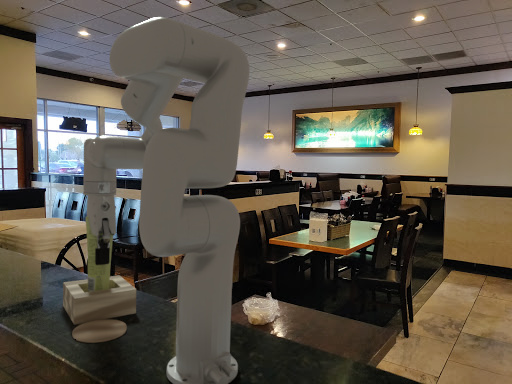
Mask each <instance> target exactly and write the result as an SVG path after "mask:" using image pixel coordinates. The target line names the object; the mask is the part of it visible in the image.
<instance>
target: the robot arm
mask: <svg viewBox="0 0 512 384" xmlns="http://www.w3.org/2000/svg"><path fill="white" fill-rule="evenodd" d="M109 66H110V68H111V71H112V72H113V74H114V75H116V76H117V77H118V78H121V79H125V80H129V82H128V85H127V86H126V88H125V90H124V92H123V93H122V96H121V99H120V105H121V108H122V110H123V111H124V112H125V114H126V115H127V116H129V118H131V119H132V120H133V121H135V122H136V123H138V124H139V125H141V126H143V127H144V128H145V130H144V131H143V132H142V134H141V136H140V137H139V138H137V137H126V136H114V135H113V136H111V135H98V136H95V137H89V138H87V139H85V140H84V143H83V196H87V200H86V217H88V222H89V227H90V231H91V234H93V235H95V236H96V242H97V248H96V249H95V264H96V265H104V264H109V262H110V233H111V235H112V234H113V236H115V235H116V234H117V220H116V219H117V218H116V217H117V216H116V202H115V196H116V195H117V170H141V171H142V172H141V173H142V174H141V184H140V185H141V189H140V203H139V204H140V205H139V219H138V221H139V222H138V226H139V227H138V229H139V236H140V240H141V243H142V245H143V248H144V249H145V250H146V252H147V253H148V254H150V255H152V256H155V257H159V258H160V257H161V258H166V257H172V256H173V257H174V256H180V255H185V256H184V258H183V259H182V262H181V264H180V267H179V271H178V274H177V275H178V276H177V291H176V292H177V297H176V301H177V302H176V334H175V337H176V339H175V356H174V357H172V358H171V359H170V360H169V361H168V363H167V365H166V371H165V372H166V377H167V379H168V380H169V381H170V382H171V383H172V384H229V383H231V382H232V381H234V380H235V379H236V377H237V375H238V373H239V371H238V370H239V364H238V362H237V360H236V359H235V358H234V357H233V356H232V354H231V353H230V351H231V319H232V298H233V297H232V294H233V293H232V291H233V290H232V289H233V274H234V273H233V272H234V261H235V253H236V248H237V244H238V240H239V235H240V229H241V217H240V214H239V211H238V208H237V206H236V205H235V204H234V203H233V202H232V201H231V200H230V199H228V198H226V197H223V196H220V195H213V194H204V195H203V194H201V195H200V194H197V195H194V194H193V195H185V192H186V189H216V188H222V187H225V186H227V185H229V184H230V183H231V182H232V181H233V180H234V178H235V176H236V172H237V168H238V167H237V166H238V157H239V150H240V149H239V147H240V137H241V130H242V129H241V128H242V114H243V106H244V103H245V97H246V94H247V89H248V86H249V81H250V64H249V59H248V56H247V54H246V53H245V51H244V50H243V48H242V47H241V46H239V45H238V44H237V43H235V42H233V41H232V40H229V39H227V38H225V37H223V36H220V35H218V34H215V33H212V32H211V31H207V30H205V29H201V28H198V27H196V26H195V27H194V26H192V25H189V24H187V23H184V22H181V21H179V20H175V19H172V18H169V17H163V16H158V17H152V18H150V19H148V20H145V21H143V22H140V23H138V24H135V25H133V26H130V27H129V28H127V29H125V30H124V31H122V32H121V33H120V34H119V35H118V36H117V37H116V38H115V40H114V41H113V44H112V46H111V48H110V51H109ZM184 79H186V80H191V81H195V82H200V83H204V84H202V87H200V89H199V91H198V92H197V93H196V95H195V97H194V99H193V101H192V104H191V109H190V111H191V112H190V122H189V128H181V127H180V128H179V127H166V128H163V124H162V121H161V118H160V117H161V115H162V114H163V113H164V111H165V109H166V107H167V106H168V104H169V102H170V101H171V100H172V97H173V96H174V95H175V93H176V91H177V90H178V88H179V86H180V84H181V83H182V81H183V80H184ZM109 228H110V231H111V232H109ZM99 233H103V235H99ZM100 238H103V239H101V240H100Z"/></svg>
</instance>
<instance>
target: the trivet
mask: <svg viewBox="0 0 512 384" xmlns="http://www.w3.org/2000/svg"><path fill="white" fill-rule="evenodd" d="M127 330H128V327H127V324H126V323H125V322H124V321H121V320H118V319H113V318H108V319H102V320H95V321H90V322H86V323H81V324H78V325H77V326H76V327H74V328H73V330H72V331H71V332H72V334H71V335H72V338H73V339H74V340H75V339H76V340H75V341H77V342H80V343H87V344H88V343H89V344H90V343H91V344H93V343H105V342H109V341H113V340H115V339H118V338H120V337H122V336H123V335H124V334H126V332H127Z"/></svg>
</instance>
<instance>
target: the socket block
mask: <svg viewBox="0 0 512 384" xmlns="http://www.w3.org/2000/svg"><path fill="white" fill-rule="evenodd" d="M62 288H63V289H62V306H63V308H64V310H65V311H66V313H67V315H68V317H69V319H70V320H71V321H72V323H73V325H74V326H76V325H81V324H84V323H87V322H90V321H95V320H103V319H113V318H117V317H123V316H128V315H133V314H136V313H137V288H136V287H134V286H133V285H132V284H130V282H128V281H127V280H126V279H124V278H123V277H122V276H121V275H113V276H112V275H110V282H109V289H106V290H99V291H92V292H88V278H86V279H80V280H72V281H65V282H63V283H62Z"/></svg>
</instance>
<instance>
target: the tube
mask: <svg viewBox="0 0 512 384" xmlns="http://www.w3.org/2000/svg"><path fill="white" fill-rule="evenodd" d="M84 218H85V227H86V241H87V242H86V243H87V244H86V245H87V246H86V247H87V250H86V251H87V279H88V292H92V291H99V290H106V289H109V282H110V276H111V262H112V252H113V241H114V240H113V239H114V235H113V234H112V235H111V233H110V262H109V264H104V265H96V264H95V249H96V248H97V242H96V236H95V235H93V234H91V231H90V227H89V222H88V217H87V216H85V217H84ZM109 232H111V231H110V228H109ZM99 235H103V233H99ZM101 239H103V238H100V240H101Z"/></svg>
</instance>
